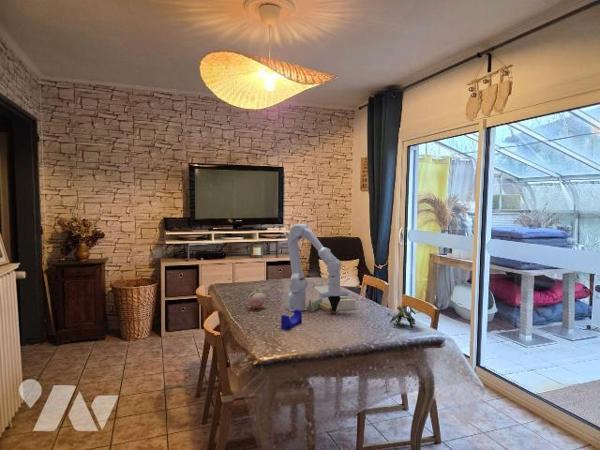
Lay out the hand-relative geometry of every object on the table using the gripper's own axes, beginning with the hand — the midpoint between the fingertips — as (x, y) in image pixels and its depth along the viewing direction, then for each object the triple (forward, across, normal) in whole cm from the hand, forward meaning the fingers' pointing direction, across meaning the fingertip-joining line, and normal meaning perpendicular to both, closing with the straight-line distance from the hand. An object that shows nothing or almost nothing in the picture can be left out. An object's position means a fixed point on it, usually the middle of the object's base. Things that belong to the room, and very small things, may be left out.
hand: (334, 311), depth 191 cm
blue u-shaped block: (+1, -26, -12) cm, 29 cm away
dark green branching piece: (+2, +21, -28) cm, 35 cm away
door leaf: (+1, -6, +10) cm, 12 cm away
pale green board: (+1, +1, +5) cm, 6 cm away
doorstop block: (+1, -1, +6) cm, 6 cm away
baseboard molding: (+2, +13, +42) cm, 44 cm away
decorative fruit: (+1, -36, +18) cm, 40 cm away
